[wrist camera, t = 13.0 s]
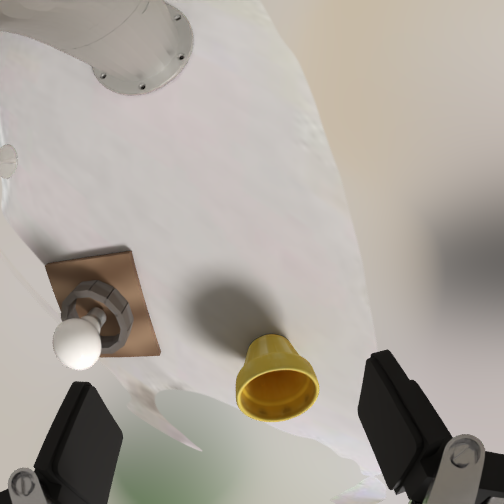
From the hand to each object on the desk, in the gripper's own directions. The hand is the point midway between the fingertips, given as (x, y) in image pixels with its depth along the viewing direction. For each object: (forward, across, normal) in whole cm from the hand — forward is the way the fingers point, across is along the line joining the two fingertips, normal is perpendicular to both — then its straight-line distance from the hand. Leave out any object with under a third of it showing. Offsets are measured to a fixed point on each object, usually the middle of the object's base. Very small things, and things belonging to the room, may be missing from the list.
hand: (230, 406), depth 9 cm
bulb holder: (+28, +20, +11) cm, 36 cm away
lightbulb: (+27, +20, +11) cm, 36 cm away
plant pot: (+28, -3, +21) cm, 36 cm away
